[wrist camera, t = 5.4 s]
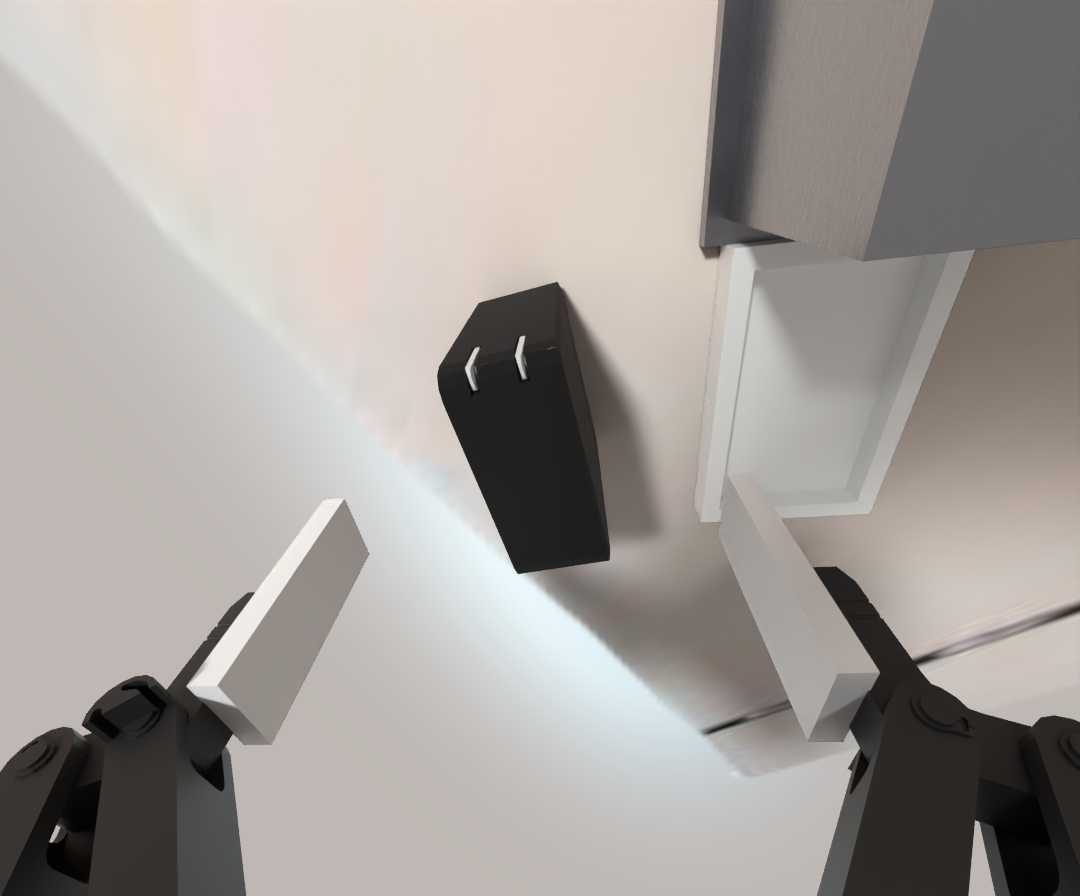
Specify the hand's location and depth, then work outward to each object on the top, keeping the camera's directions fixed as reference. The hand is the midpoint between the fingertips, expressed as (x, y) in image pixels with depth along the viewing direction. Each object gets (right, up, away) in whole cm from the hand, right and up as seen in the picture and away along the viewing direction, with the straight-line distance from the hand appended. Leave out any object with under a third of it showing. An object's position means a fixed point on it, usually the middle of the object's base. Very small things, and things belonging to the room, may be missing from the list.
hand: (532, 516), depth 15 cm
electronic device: (+1, +7, +9) cm, 11 cm away
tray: (+15, +6, +9) cm, 18 cm away
